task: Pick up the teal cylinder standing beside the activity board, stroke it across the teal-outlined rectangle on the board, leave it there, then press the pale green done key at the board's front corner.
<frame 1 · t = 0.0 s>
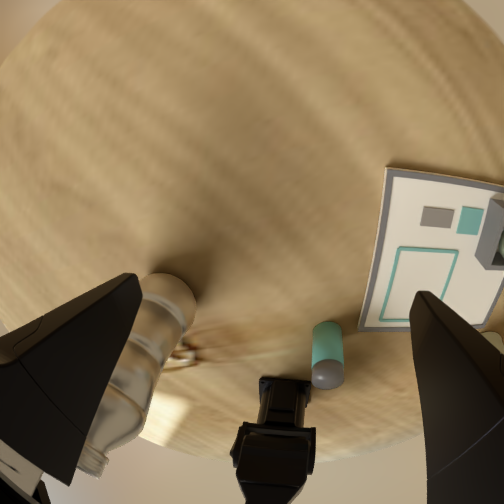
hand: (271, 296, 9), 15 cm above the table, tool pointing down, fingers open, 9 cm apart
activity board: (450, 262, 22), on the table
plastic bottle: (172, 289, 30), on the table
teal cylinder: (327, 332, 29), on the table
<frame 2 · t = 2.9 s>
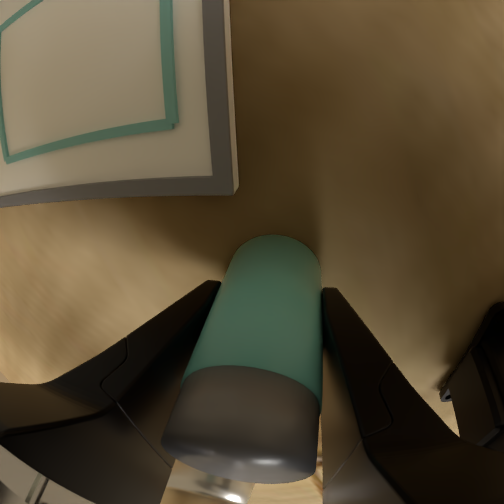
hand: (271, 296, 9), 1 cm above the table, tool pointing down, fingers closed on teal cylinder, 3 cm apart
activity board: (29, 15, 5), on the table
plastic bottle: (218, 442, 18), on the table
teal cylinder: (275, 275, 10), on the table, touching gripper
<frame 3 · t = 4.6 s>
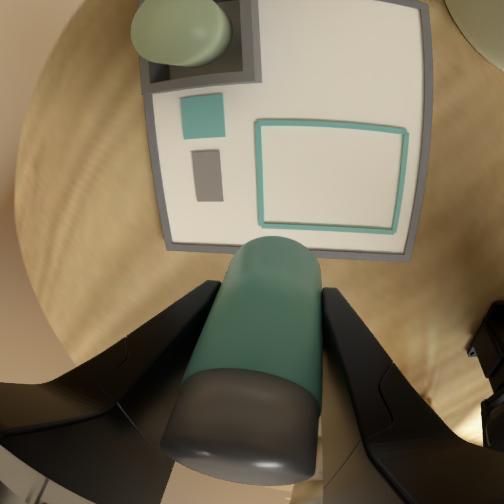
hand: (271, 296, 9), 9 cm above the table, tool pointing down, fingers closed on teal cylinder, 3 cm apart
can: (496, 11, 8), on the table
done key: (184, 28, 10), point 4 cm above the table, slide at 0.0 cm
activity board: (287, 121, 15), on the table
plastic bottle: (326, 404, 28), on the table
teal cylinder: (274, 277, 10), point 9 cm above the table, touching gripper
when the fingers open (2 cm above the table, at t = 6.7 s): teal cylinder stays where it is, resting on activity board.
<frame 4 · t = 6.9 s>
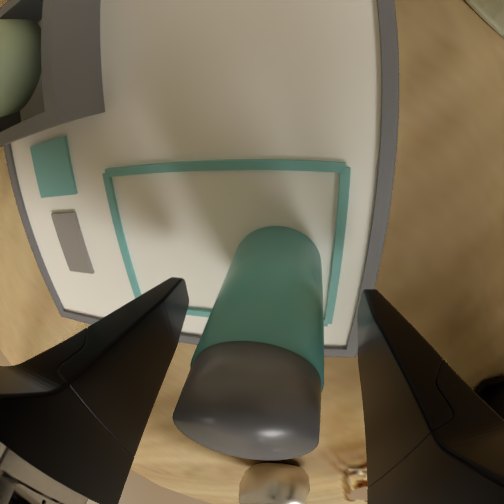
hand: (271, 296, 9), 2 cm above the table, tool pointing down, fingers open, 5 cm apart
activity board: (149, 164, 10), on the table
plastic bottle: (278, 463, 23), on the table
teal cylinder: (277, 265, 10), point 1 cm above the table, touching activity board
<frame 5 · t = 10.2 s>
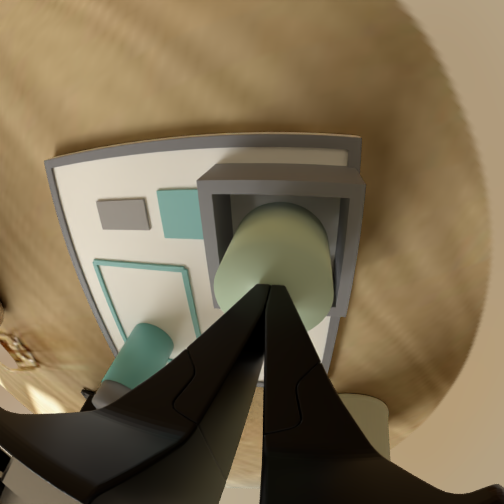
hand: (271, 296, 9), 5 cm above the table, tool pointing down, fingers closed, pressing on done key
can: (336, 417, 22), on the table
done key: (277, 268, 10), point 4 cm above the table, slide at 0.1 cm, touching gripper
activity board: (193, 285, 16), on the table
teal cylinder: (153, 339, 18), point 1 cm above the table, touching activity board
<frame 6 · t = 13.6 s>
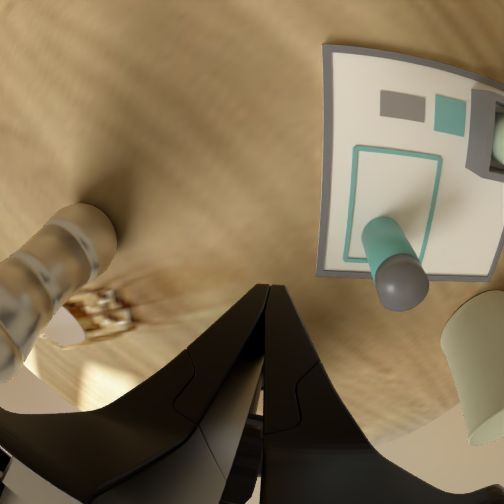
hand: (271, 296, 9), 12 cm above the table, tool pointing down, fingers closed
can: (477, 324, 22), on the table
activity board: (433, 177, 17), on the table
plastic bottle: (97, 227, 24), on the table
teal cylinder: (381, 236, 19), point 1 cm above the table, touching activity board
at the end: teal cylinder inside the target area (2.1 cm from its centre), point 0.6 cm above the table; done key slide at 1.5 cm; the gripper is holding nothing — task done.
